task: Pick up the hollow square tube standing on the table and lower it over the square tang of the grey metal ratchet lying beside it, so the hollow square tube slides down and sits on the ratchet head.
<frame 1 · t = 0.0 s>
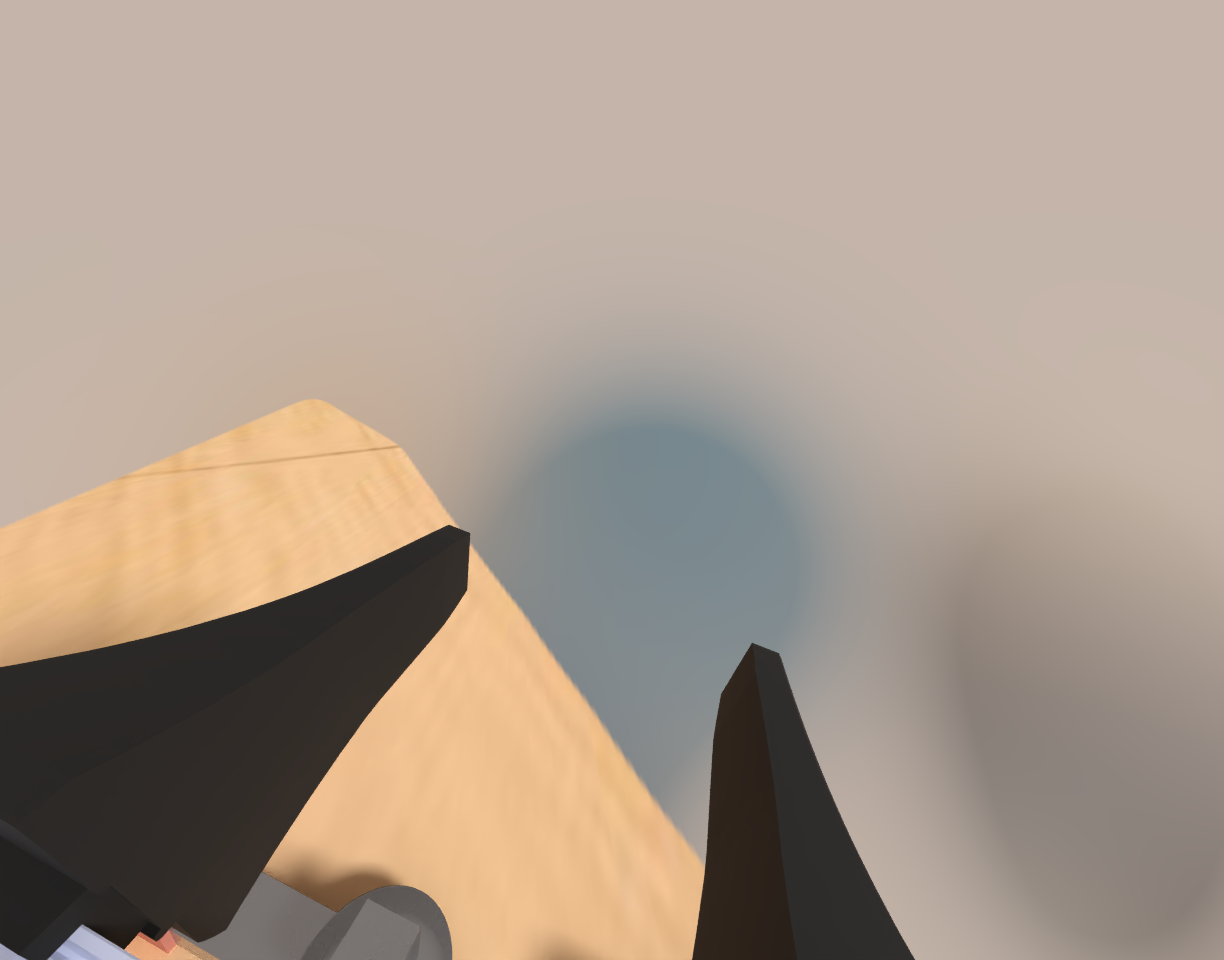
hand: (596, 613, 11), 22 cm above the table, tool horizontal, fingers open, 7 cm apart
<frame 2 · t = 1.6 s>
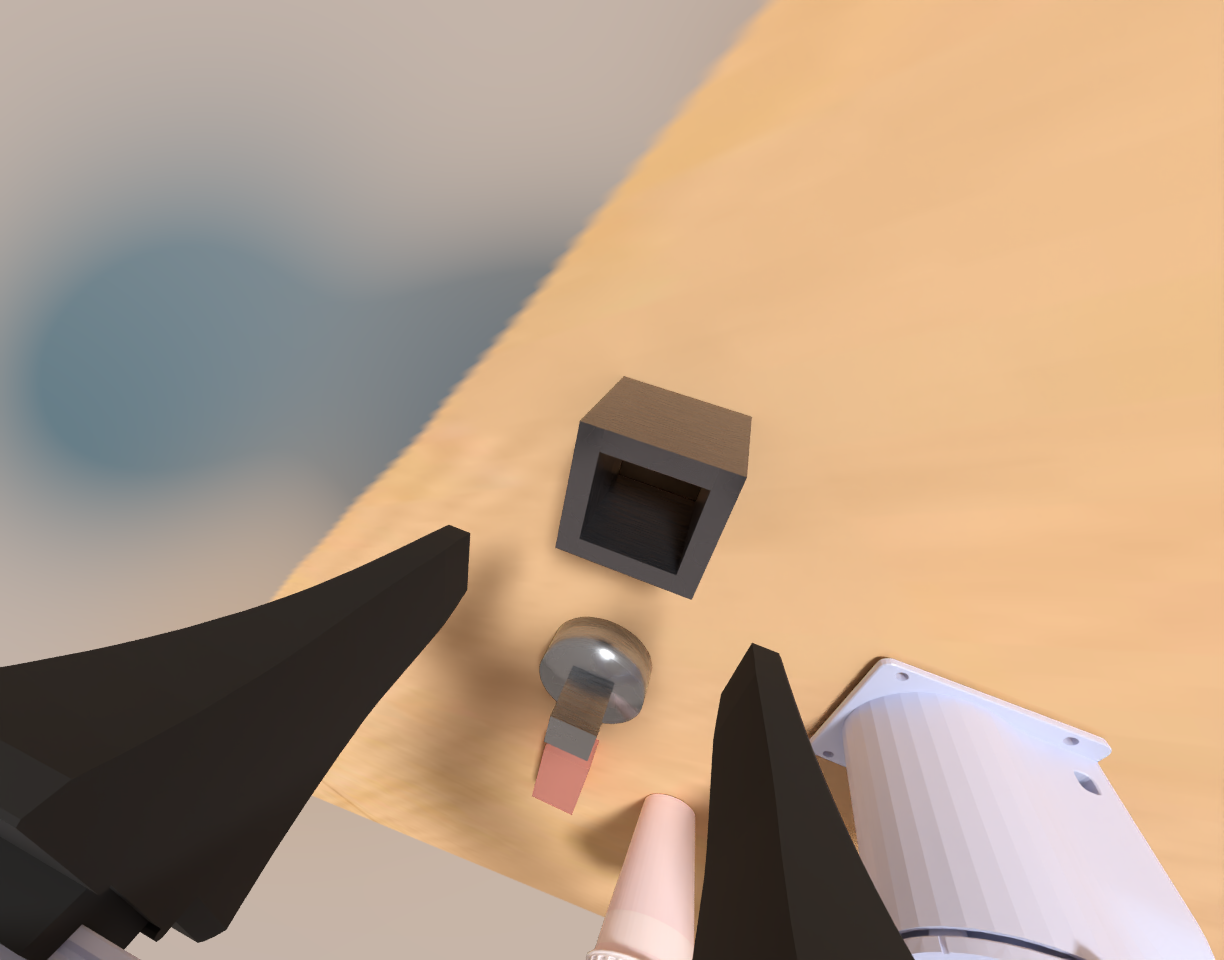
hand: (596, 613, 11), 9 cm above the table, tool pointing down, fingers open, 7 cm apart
smoothie: (669, 806, 32), on the table
hollow square tube: (667, 453, 19), on the table
ratchet: (602, 655, 26), on the table
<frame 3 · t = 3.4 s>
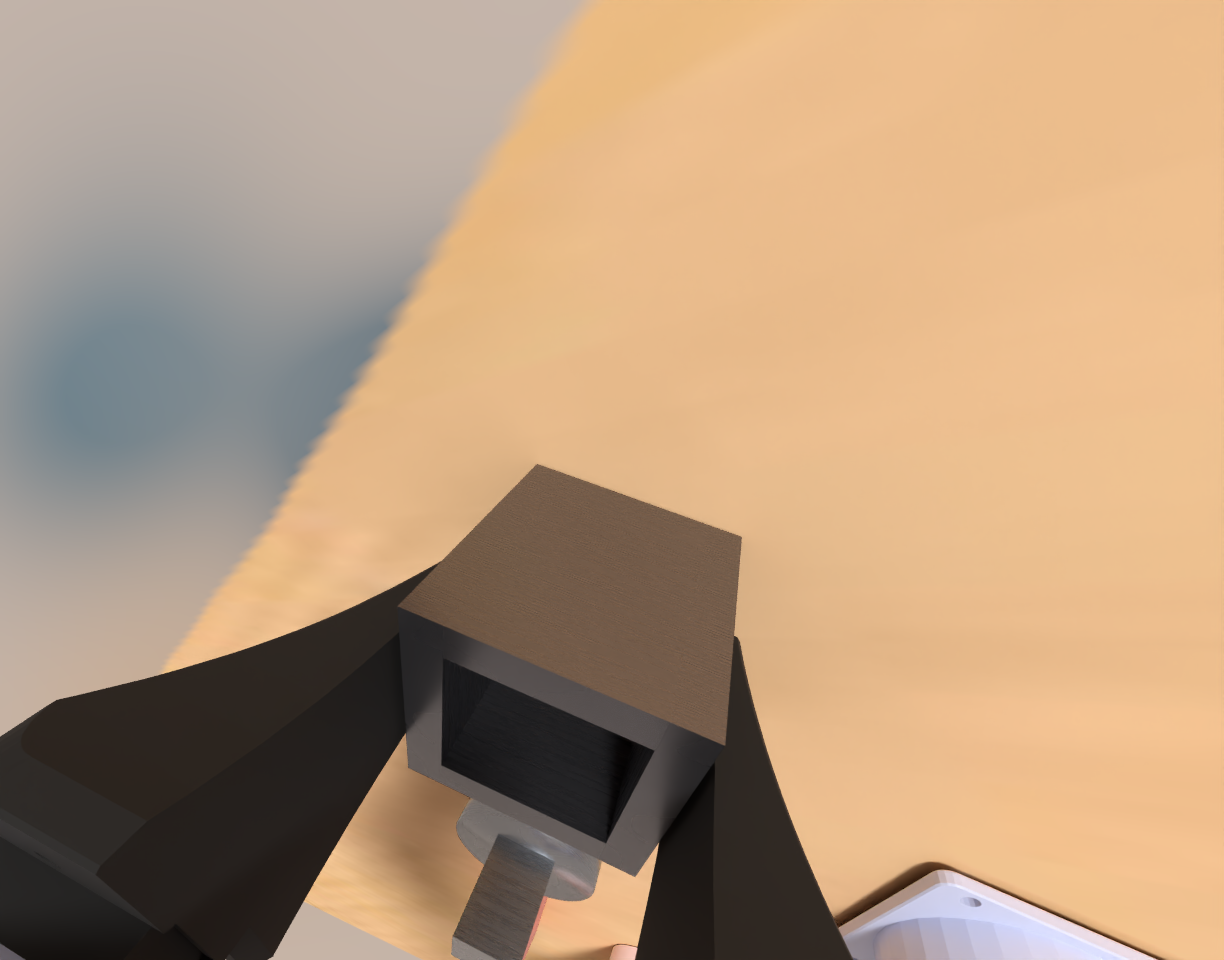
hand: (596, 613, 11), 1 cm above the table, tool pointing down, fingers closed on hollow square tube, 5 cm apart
smoothie: (644, 957, 25), on the table
hollow square tube: (612, 576, 12), on the table, touching gripper
ratchet: (545, 799, 20), on the table
when the fingers open (4 cm above the table, at t = 8.1 s): hollow square tube stays where it is, resting on ratchet.
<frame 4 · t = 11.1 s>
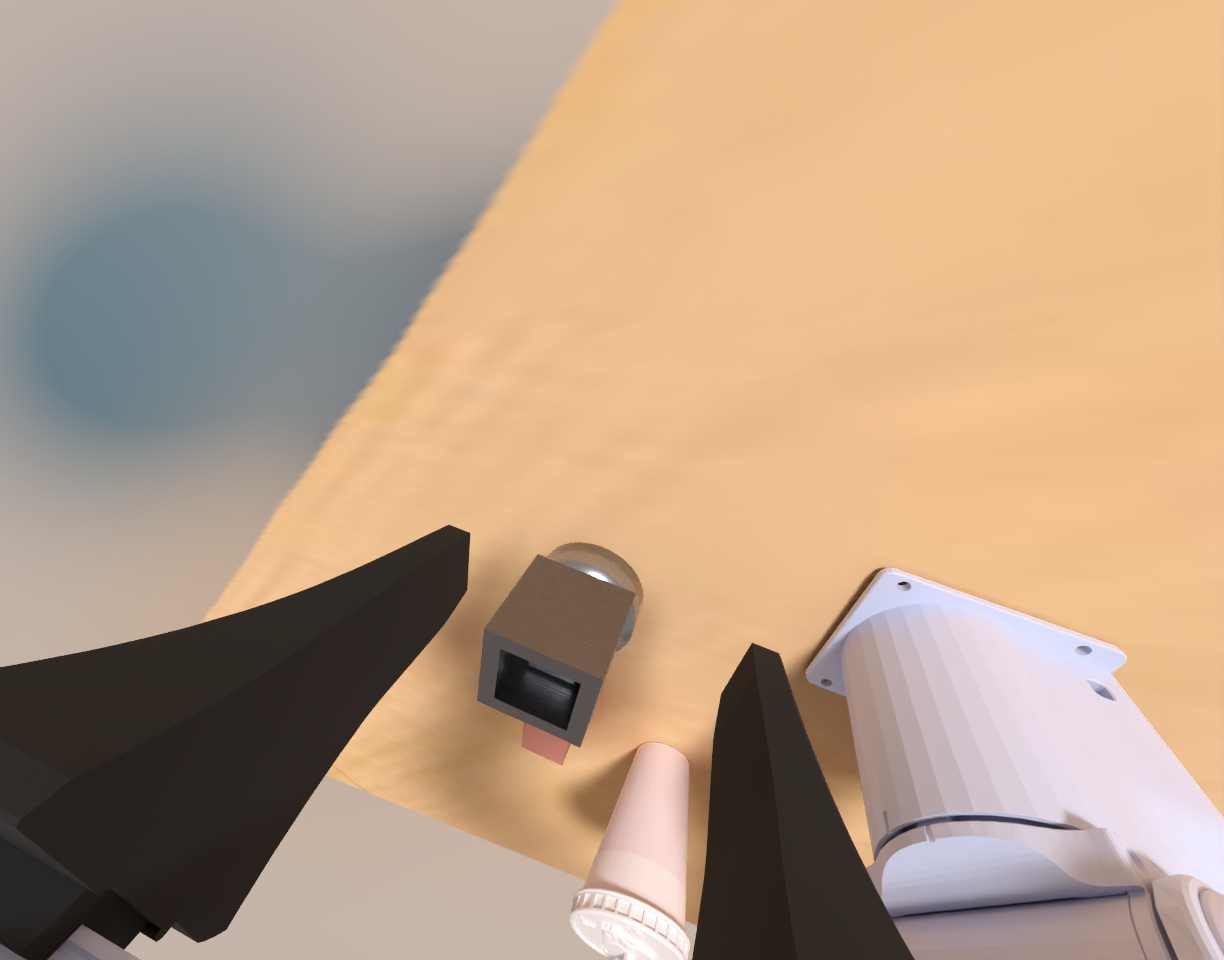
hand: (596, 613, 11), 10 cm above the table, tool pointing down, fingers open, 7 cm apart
smoothie: (663, 756, 31), on the table
hollow square tube: (577, 608, 23), point 2 cm above the table, touching ratchet
ratchet: (591, 586, 25), on the table, touching hollow square tube
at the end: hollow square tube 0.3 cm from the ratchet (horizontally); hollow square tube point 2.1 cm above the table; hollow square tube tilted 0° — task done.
